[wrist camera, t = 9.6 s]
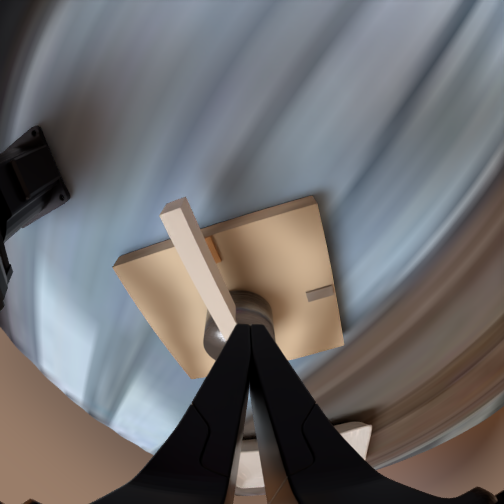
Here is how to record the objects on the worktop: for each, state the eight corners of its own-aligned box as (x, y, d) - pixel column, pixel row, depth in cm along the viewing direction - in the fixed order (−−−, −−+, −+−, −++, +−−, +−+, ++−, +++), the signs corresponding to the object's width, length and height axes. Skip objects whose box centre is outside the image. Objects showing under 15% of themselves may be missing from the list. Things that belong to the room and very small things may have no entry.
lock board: (192, 367, 28) (191, 380, 27) (119, 256, 21) (111, 268, 20) (340, 333, 26) (344, 346, 25) (312, 195, 19) (318, 204, 18)
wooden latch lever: (279, 329, 23) (283, 361, 20) (221, 343, 24) (219, 374, 21) (220, 176, 17) (216, 195, 14) (146, 203, 17) (128, 226, 15)
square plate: (186, 434, 38) (184, 456, 35) (367, 403, 35) (374, 426, 32) (239, 476, 52) (239, 491, 48) (361, 455, 49) (365, 470, 45)
